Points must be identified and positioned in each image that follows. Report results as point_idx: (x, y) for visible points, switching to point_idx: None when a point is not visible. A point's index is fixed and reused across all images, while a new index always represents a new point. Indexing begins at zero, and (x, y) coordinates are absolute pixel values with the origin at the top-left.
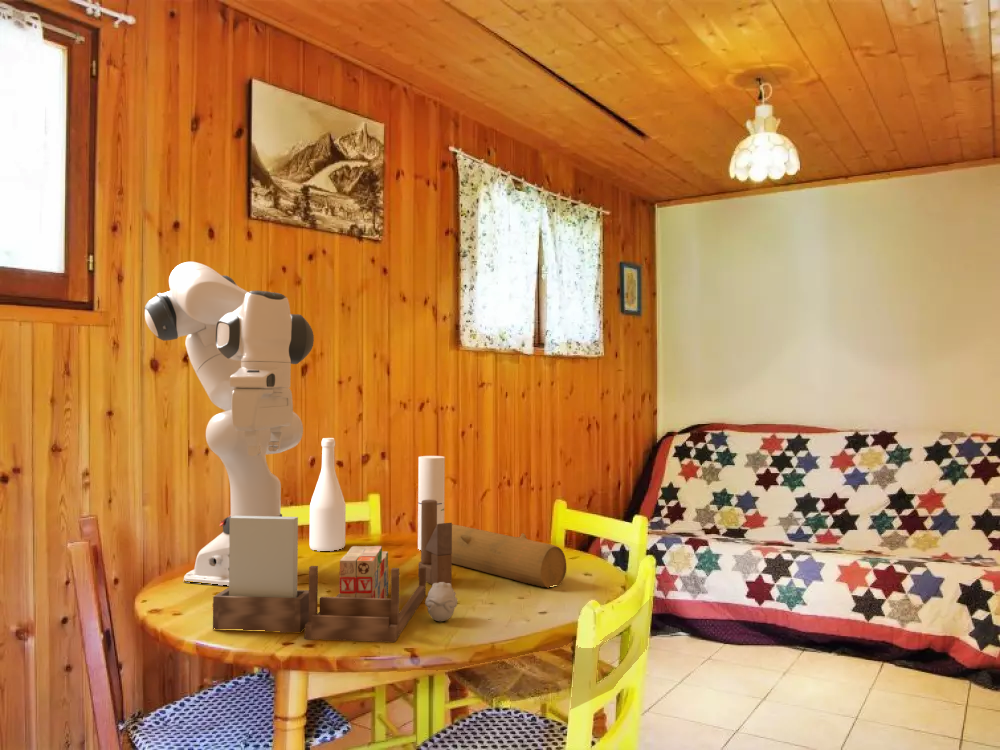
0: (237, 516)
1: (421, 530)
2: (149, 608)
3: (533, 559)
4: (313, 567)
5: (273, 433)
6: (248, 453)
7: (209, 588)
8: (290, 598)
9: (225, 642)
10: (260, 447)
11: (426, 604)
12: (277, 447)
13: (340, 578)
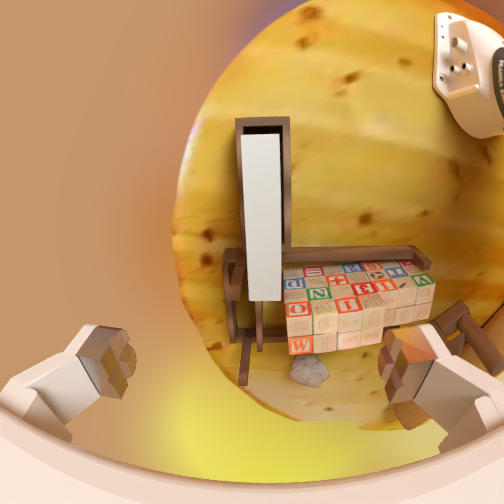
0: (266, 146)
1: (483, 337)
2: (320, 3)
3: (406, 413)
4: (229, 297)
5: (472, 400)
6: (85, 328)
7: (422, 48)
8: (244, 237)
9: (197, 161)
10: (123, 390)
11: (299, 359)
12: (383, 379)
13: (284, 303)
